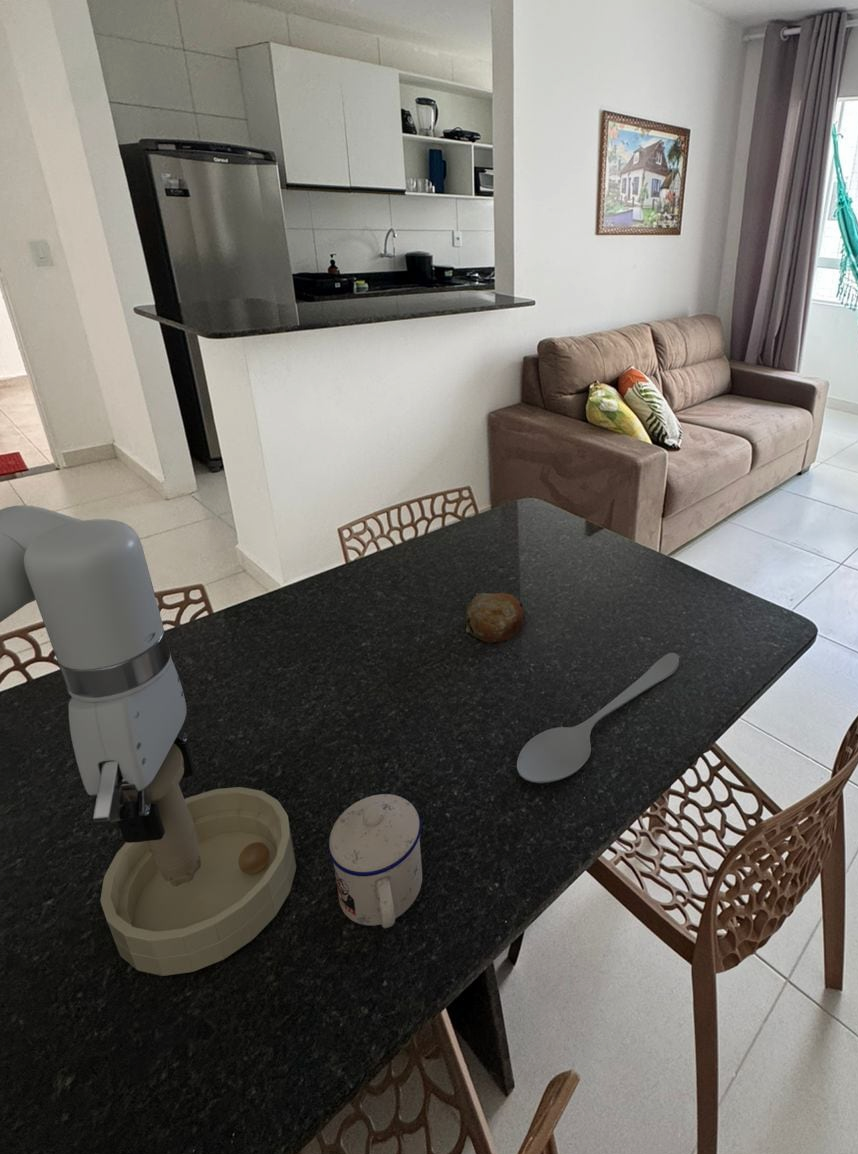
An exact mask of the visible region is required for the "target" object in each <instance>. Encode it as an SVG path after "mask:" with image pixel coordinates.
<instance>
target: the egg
mask: <svg viewBox="0 0 858 1154" xmlns="http://www.w3.org/2000/svg"><path fill="white" fill-rule="evenodd" d="M269 855H270V854H269V849H268V847H267V846H266V845H265V844H263V843H260V842H255V843H252V844H250V845H248V846H246V847H245V848H244V849H243V851H242V852H241V854H240V856H239V861H238V862H239V867H240V869H241V870H242V871H243V872H244V873H247V874H254V873H257V872H259V871H261V870H262V869H263V868H264V867H265V866H266V864H267V863H268V860H269Z"/></svg>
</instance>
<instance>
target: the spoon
mask: <svg viewBox="0 0 858 1154" xmlns="http://www.w3.org/2000/svg"><path fill="white" fill-rule="evenodd" d="M679 664H680V657H679V655H678V653H676V652H669V653H667V654H664V656H662V657H660V658H659V659H658V660H657V661H655V662H654V663H653V664H652V665H651V666H650V667H649V668H648V670H646V671H645V672H644V673H643V674H642V675H641V676H640V677H639V678H638V679H637V680H635V681H634V682H633V683H632V684H631V685H629V686H627V688H626V689H624V690H623V691H622V692H621V693H619V694H618V695H617V696H616V697H615V698H614V699H612V700H610V702H609V703H607V704H606V705H604V706H603V707H602V708H601V709H599V710H598V711H597V712H596V713H594V714H593V715H592V716H590V717H589V718H587V719H586V720H584V721H583V722H581V723H579V724H576V725H574V726H567V727H566V726H562V727H560V726H559V727H553V728H549V729H547V730H545V731H542V732H539V733H538V734H536V735H535V736H533V737H532V738H530V739H529V740H528V741H527V742H526V743H525V744H524V746H523V747H522V749H521V750H520V752H519V754H518V757H517V759H516V769H517V770H516V771H517V773H518V774H519V776H520V777H521V778H522V779H523V780H525V781H527V782H530V783H534V784H546V783H547V784H548V783H554V782H558V781H561V780H564V779H566V778H569V777H570V776H572V775H574V774H575V773H577V772H578V771H579V770H580V769H582V767H583V766H584V765H585V764H586V763H587V762H588V760H589V758H590V756H591V751H592V745H591V732H592V731H593V728H594V727H595V725H596V724H597V723H598V722H600V720H601V719H603V718H605V717H606V716H608V715H610V714H611V713H613V712H614V711H616V710H617V709H619V708H620V707H622V706H624V705H625V704H627V703H629V702H630V701H632V700H633V699H635V698H636V697H637V696H639V695H641V694H643V693H644V692H645V691H648V690H649V689H650V688H652V687H653V686H656V685H657V684H659V683H661V682H662V681H663V680H666V679H667V678H669V677H671V676H672V675H673V674H674V673H675V672H676V671H677V670H678V668H679Z"/></svg>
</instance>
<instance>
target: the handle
mask: <svg viewBox="0 0 858 1154" xmlns="http://www.w3.org/2000/svg"><path fill="white" fill-rule="evenodd" d="M183 774H184V761H183V756H182V753H181V750H180V749H179V748H178V747H177V746H176V745H175V744H174V743H173V745H172V746H171V748H170V750H169V752H168V754H167V756H166V758H165V759H164V761H163V763H162V765H161V767H160V768H159V770H158V772H157V774H156V776H155V777H154V779H153V780H152V782H151V783H150V795H151V804H157V808H158V811H159V814H160V817H161V821H162V824H163V827H164V830H165V833H164V836H163V838H162V839H160V840H152V841H148V843H149V846H150V849H151V852H152V855H153V858H154V860H155V862H156V864H157V866H158V868H159V870H160V871H161V873H162V876H163V877H164V879H165V880H166V881H170V882H171V884H172V886H179V885H180V884H182V883H185V882H190V881H191V880H192V879H193V878H194V875H195V873H196V871H197V870H199V869H200V867H201V859H200V855H199V846H198V840H197V834H196V830H195V826H194V823H193V820H192V818H191V815H190V812H189V810H188V807H187V805H186V802H185V800H184V799H185V797H184V795H183V792H182V789H181V787H180V782H181V780H182V779H183V778H182V776H183ZM123 779H124V778H123ZM123 796H125V798H126V799H127V800H128V802H137V789H135V790H124V791H123Z"/></svg>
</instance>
